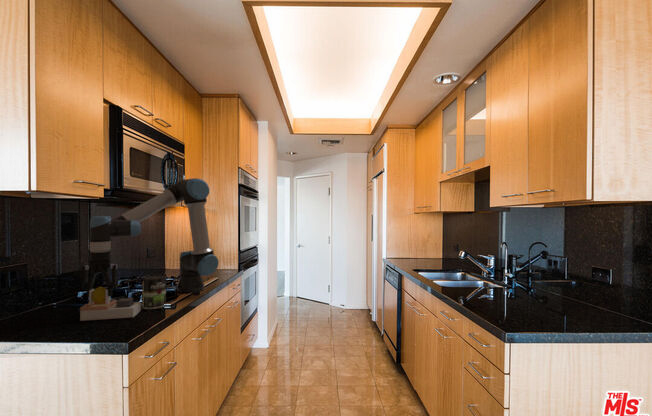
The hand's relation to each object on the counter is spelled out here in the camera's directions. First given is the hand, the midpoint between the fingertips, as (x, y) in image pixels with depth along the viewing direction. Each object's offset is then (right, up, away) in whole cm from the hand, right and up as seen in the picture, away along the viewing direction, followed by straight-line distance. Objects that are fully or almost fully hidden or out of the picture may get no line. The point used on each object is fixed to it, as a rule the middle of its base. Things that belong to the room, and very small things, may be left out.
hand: (99, 304), depth 139 cm
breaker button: (+10, -5, +2) cm, 11 cm away
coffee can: (+16, -6, +15) cm, 23 cm away
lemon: (0, -1, 0) cm, 1 cm away
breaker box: (+5, -5, +1) cm, 7 cm away
